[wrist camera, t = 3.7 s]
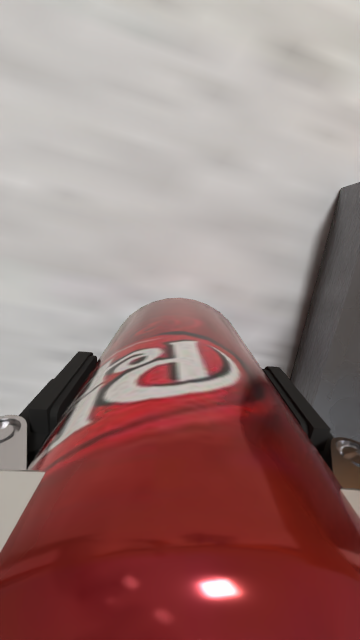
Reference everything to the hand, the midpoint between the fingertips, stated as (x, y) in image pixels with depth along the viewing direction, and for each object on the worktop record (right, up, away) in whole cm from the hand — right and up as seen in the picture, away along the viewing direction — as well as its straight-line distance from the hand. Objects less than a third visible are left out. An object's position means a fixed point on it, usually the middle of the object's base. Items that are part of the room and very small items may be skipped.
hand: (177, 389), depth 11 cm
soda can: (0, +1, +3) cm, 4 cm away
